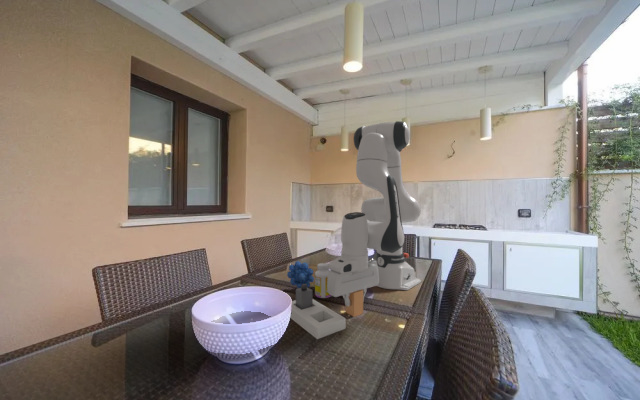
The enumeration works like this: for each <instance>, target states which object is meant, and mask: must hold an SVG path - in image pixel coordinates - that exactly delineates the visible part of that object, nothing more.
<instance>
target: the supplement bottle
mask: <svg viewBox="0 0 640 400" xmlns="http://www.w3.org/2000/svg"><path fill="white" fill-rule="evenodd" d="M316 268H317V270H316V271H315V272H314V296H315V297H317V298H320V299H328V298H330V297H333V296H332V295H330V294H329V293H328V291H327V279H328V273H329V272H330V271H331V269H329V263H327V262H326V263H325V262H320V263H318V264H317V265H316Z"/></svg>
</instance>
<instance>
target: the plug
mask: <svg viewBox="0 0 640 400" xmlns="http://www.w3.org/2000/svg"><path fill="white" fill-rule="evenodd" d="M348 298H349V299H350V300H352V305H351V306H348V307H347V306H346V305H345V313H346V314H347V315H350V316H352V317H353V318H355V317H358V316H361V315H363V314H364V302H363V290H359V291H355V292H352V293H350V294H349V296H348Z"/></svg>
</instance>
